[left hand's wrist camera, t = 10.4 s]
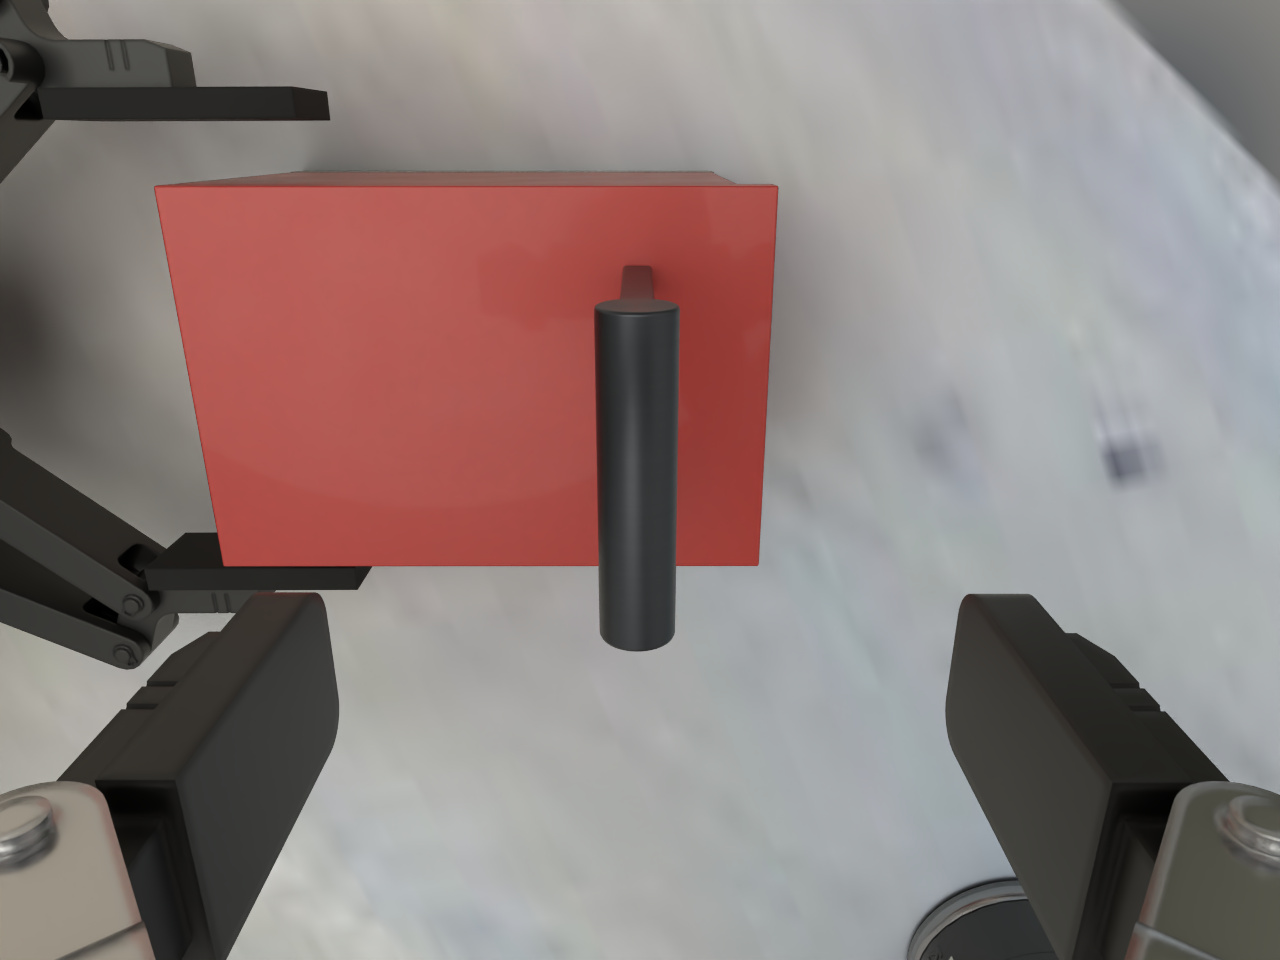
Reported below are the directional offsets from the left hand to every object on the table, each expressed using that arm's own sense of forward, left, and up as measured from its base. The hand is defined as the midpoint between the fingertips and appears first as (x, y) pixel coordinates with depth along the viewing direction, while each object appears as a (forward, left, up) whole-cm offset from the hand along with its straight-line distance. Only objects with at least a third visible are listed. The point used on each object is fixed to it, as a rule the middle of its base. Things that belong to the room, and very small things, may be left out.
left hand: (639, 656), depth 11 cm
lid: (+4, 0, -14) cm, 14 cm away
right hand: (+9, 0, -16) cm, 19 cm away
